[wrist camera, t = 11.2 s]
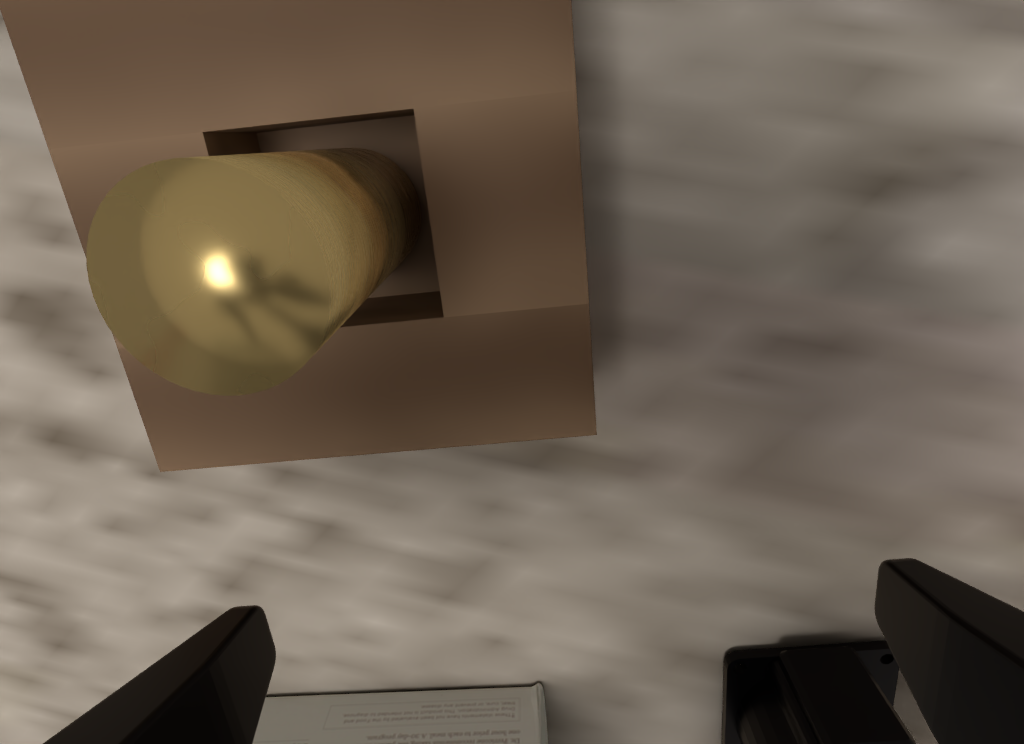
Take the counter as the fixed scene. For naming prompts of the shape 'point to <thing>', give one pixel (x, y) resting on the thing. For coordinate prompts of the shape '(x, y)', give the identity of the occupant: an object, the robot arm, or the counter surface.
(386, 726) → the supplement box
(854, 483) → the counter surface
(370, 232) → the brass pin
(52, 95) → the walnut socket block
